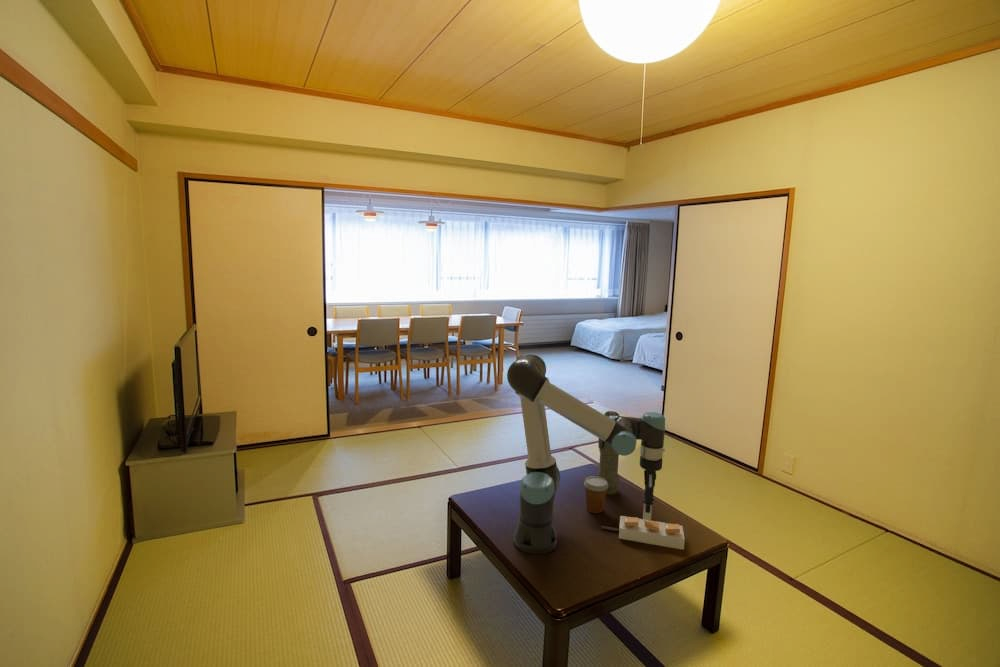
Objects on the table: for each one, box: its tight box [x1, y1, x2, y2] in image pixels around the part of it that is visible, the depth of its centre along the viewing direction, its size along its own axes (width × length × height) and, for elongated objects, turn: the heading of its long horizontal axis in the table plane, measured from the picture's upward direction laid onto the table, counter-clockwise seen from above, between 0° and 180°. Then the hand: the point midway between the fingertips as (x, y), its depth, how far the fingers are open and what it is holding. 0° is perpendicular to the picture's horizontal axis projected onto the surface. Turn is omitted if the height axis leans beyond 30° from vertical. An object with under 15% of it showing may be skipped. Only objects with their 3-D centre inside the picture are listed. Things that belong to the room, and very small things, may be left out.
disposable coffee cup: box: [583, 475, 608, 514], centre depth 189 cm, size 10×10×12 cm
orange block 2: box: [644, 520, 659, 532], centre depth 169 cm, size 5×3×2 cm
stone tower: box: [597, 410, 621, 496], centre depth 204 cm, size 9×12×35 cm
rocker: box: [665, 523, 680, 533], centre depth 167 cm, size 5×3×2 cm
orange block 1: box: [624, 516, 639, 526], centre depth 171 cm, size 5×3×2 cm
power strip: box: [601, 515, 686, 550], centre depth 172 cm, size 28×9×5 cm, turn 74°
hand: (646, 519), depth 169 cm, fingers closed
